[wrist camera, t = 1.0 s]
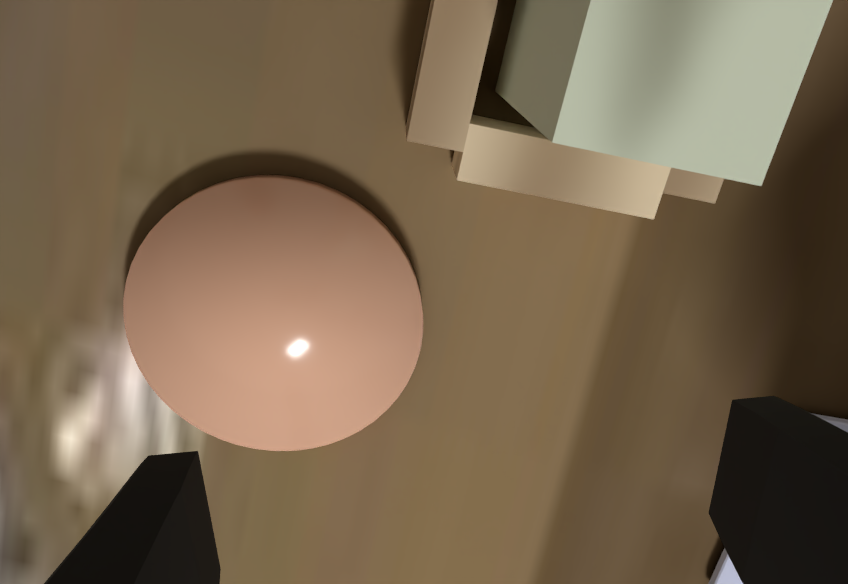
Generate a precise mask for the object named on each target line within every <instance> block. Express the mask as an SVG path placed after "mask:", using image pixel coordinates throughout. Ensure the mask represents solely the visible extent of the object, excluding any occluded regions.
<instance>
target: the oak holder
mask: <svg viewBox="0 0 848 584" xmlns="http://www.w3.org/2000/svg"><path fill="white" fill-rule="evenodd" d="M497 2H498V0H431V3H430V8H429V13H428V18H427V23H426V28H425V33H424V38H423V43H422V48H421V53H420V58H419V63H418V68H417V74H416V79H415V84H414V89H413V94H412V99H411V104H410V109H409V114H408V119H407V124H406V139H407V141H410V142H415V143H420V144H425V145H430V146H435V147H440V148H445V149H450V150H455V151H454V155H453V160H452V167H453V170H454V173H455V176H456V179H457V180H459V181H464V182H469V183H474V184H479V185H484V186H489V187H494V188H499V189H504V190H509V191H514V192H519V193H524V194H529V195H534V196H539V197H544V198H549V199H554V200H559V201H564V202H569V203H574V204H579V205H584V206H589V207H594V208H599V209H604V210H609V211H614V212H619V213H624V214H629V215H634V216H639V217H644V218H649V219H654V217H655V214H656V211H657V208H658V205H659V202H660V199H661V196H662V193H665V194H670V195H675V196H680V197H685V198H690V199H695V200H700V201H705V202H710V203H714V204H715V202H716V199H717V197H718V194H719V191H720V188H721V186H722V183H723V180H724V178H720V177H715V176H710V175H705V174H700V173H696V172H691V171H686V170H681V169H676V168H672V167H667V166H662V165H657V164H652V163H648V162H643V161H638V160H633V159H628V158H624V157H619V156H614V155H609V154H604V153H600V152H595V151H590V150H585V149H580V148H576V147H571V146H566V145H561V144H556V143H552V142H551V141H550V140H549V139H548V138H546V137H545V136H544V135H543V134H542V133H541V132H540V131H539V130H538V129H536V128H534V127H530V126H525V125H520V124H515V123H510V122H506V121H501V120H496V119H491V118H487V117H482V116H477V115H472V112H473V107H474V103H475V99H476V94H477V90H478V86H479V81H480V77H481V72H482V68H483V64H484V59H485V55H486V51H487V46H488V42H489V37H490V33H491V29H492V24H493V20H494V16H495V11H496V7H497Z"/></svg>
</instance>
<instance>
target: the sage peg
mask: <svg viewBox="0 0 848 584" xmlns="http://www.w3.org/2000/svg"><path fill="white" fill-rule="evenodd" d="M832 2H833V0H517V1H516V5H515V9H514V13H513V17H512V22H511V26H510V30H509V34H508V39H507V43H506V47H505V51H504V55H503V60H502V64H501V68H500V72H499V76H498V81H497V85H496V89H495V91H496V92H497V93H498V94H499V95H500V96H501V97H502V98H503V99H504V100H506V101H507V102H508V103H509V104H510V105H511V106H512V107H513V108H514V109H515V110H517V111H518V112H519V113H520V114H521V115H522V116H523V117H524V118H525V119H527V120H528V121H529V122H530V123H531V124H532V125H533V126H534V127H535V128H536V129H538V130H539V131H540V132H541V133H542V134H543V135H544V136H545V137H546V138H548V139H549V140H550V141H551V142H552V143H556V144H561V145H566V146H571V147H576V148H580V149H585V150H590V151H595V152H600V153H604V154H609V155H614V156H619V157H624V158H628V159H633V160H638V161H643V162H648V163H652V164H657V165H662V166H667V167H672V168H676V169H681V170H686V171H691V172H696V173H700V174H705V175H710V176H715V177H720V178H724V179H729V180H734V181H739V182H744V183H748V184H753V185H758V186H762V183H763V180H764V178H765V175H766V173H767V170H768V168H769V165H770V162H771V160H772V157H773V155H774V152H775V149H776V147H777V144H778V142H779V139H780V136H781V134H782V131H783V129H784V126H785V123H786V121H787V118H788V116H789V113H790V110H791V108H792V105H793V103H794V100H795V97H796V95H797V92H798V90H799V87H800V85H801V82H802V79H803V77H804V74H805V72H806V69H807V66H808V64H809V61H810V59H811V56H812V53H813V51H814V48H815V46H816V43H817V40H818V38H819V35H820V33H821V30H822V27H823V25H824V22H825V20H826V17H827V15H828V12H829V9H830V7H831V4H832Z"/></svg>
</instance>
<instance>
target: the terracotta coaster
mask: <svg viewBox="0 0 848 584" xmlns="http://www.w3.org/2000/svg"><path fill="white" fill-rule="evenodd" d="M124 322H125V329H126V335H127V338H128V342H129V345H130V348H131V352H132V354H133V356H134V358H135V361H136V363H137V365H138V367H139V369H140V371H141V372H142V374H143V376H144V377H145V379H146V380H147V382H148V384H149V385H150V386H151V387H152V389H153V390H154V391H155V392H156V394H157V395H158V396H159V397H160V398H161V399H162V400H163V401H164V402H165V403H166V404H167V405H168V406H169V407H170V408H171V409H172V410H173V411H174V412H175V413H177V414H178V415H179V416H181V417H182V418H183V419H185V420H186V421H187V422H189V423H190V424H192V425H194V426H195V427H197V428H199V429H200V430H202V431H204V432H206V433H208V434H210V435H212V436H214V437H217V438H219V439H221V440H224V441H227V442H230V443H233V444H236V445H239V446H244V447H249V448H254V449H260V450H271V451H295V450H303V449H311V448H316V447H320V446H324V445H328V444H331V443H334V442H336V441H339V440H342V439H344V438H347V437H349V436H350V435H352V434H354V433H356V432H358V431H360V430H362V429H363V428H365V427H366V426H368V425H369V424H371V423H372V422H374V421H375V420H376V419H377V418H378V417H380V416H381V415H382V414H383V413H384V412H385V411H386V410H387V409H388V408H389V407H390V406H391V405H392V404H393V403H394V401H395V400H396V399H397V398H398V397H399V395H400V394H401V392H402V391H403V389H404V388H405V386H406V385H407V383H408V381H409V379H410V377H411V375H412V373H413V371H414V368H415V366H416V363H417V360H418V356H419V353H420V349H421V343H422V336H423V309H422V301H421V294H420V289H419V285H418V281H417V278H416V274H415V272H414V269H413V267H412V265H411V263H410V260H409V258H408V256H407V254H406V253H405V251H404V249H403V248H402V246H401V245H400V243H399V241H398V240H397V239H396V237H395V236H394V235H393V234H392V232H391V231H390V230H389V229H388V228H387V226H386V225H385V224H384V223H383V222H382V221H381V220H380V219H378V218H377V217H376V216H375V215H374V214H373V213H372V212H371V211H370V210H368V209H367V208H365V207H364V206H363V205H361V204H360V203H359V202H357V201H356V200H354V199H352V198H351V197H349V196H347V195H345V194H343V193H342V192H340V191H338V190H335V189H333V188H330V187H328V186H325V185H323V184H320V183H317V182H314V181H310V180H306V179H302V178H298V177H290V176H282V175H253V176H246V177H238V178H234V179H230V180H226V181H223V182H219V183H216V184H214V185H211V186H209V187H207V188H204V189H202V190H200V191H198V192H196V193H195V194H193V195H191V196H190V197H188V198H186V199H185V200H183V201H182V202H180V203H179V204H178V205H177V206H176V207H174V208H173V209H172V210H171V211H169V212H168V213H167V214H166V215H165V216H164V217H163V218H162V219H161V220H160V221H159V222H158V223H157V224H156V225H155V226H154V227H153V229H152V230H151V231H150V232H149V233H148V235H147V236H146V238H145V239H144V241H143V242H142V244H141V245H140V247H139V248H138V251H137V253H136V255H135V257H134V259H133V261H132V263H131V266H130V270H129V273H128V276H127V280H126V285H125V292H124Z"/></svg>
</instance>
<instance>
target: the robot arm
mask: <svg viewBox="0 0 848 584" xmlns="http://www.w3.org/2000/svg"><path fill="white" fill-rule="evenodd" d="M709 515H710V517H711V519H712V521H713V524H714V526H715V528H716V530H717V532H718V534H719V537H720V539H721V541H722V543H723V545H724V547H725V548H724V550H723V552H722V554H721V557H720V559H719V561H718V563H717V565H716V568H715V570H714V572H713V574H712V577H711V579H710V581H709V584H848V420H847V419H841V418H836V417H830V416H824V415H818V414H813V413H809V412H807V411H805V410H803V409H801V408H799V407H797V406H795V405H793V404H791V403H789V402H786V401H784V400H782V399H780V398H777V397H775V396H768V397H757V398H747V399H737V400H732V404H731V409H730V413H729V418H728V423H727V428H726V432H725V437H724V442H723V447H722V452H721V456H720V461H719V466H718V471H717V476H716V480H715V485H714V490H713V495H712V500H711V504H710V509H709ZM219 582H220V564H219V559H218V554H217V548H216V543H215V538H214V533H213V528H212V522H211V517H210V512H209V507H208V501H207V496H206V491H205V486H204V481H203V475H202V470H201V465H200V460H199V455H198V451H193V452H183V453H172V454H162V455H151V456H148V457H147V458H146V459H145V460H144V461H143V462H142V463H141V464H140V466H139V467H138V468H137V469H136V471H135V472H134V473H133V474H132V476H131V477H130V478H129V479H128V481H127V482H126V483H125V485H124V486H123V487H122V488H121V490H120V491H119V492H118V494H117V495H116V496H115V497H114V499H113V500H112V501H111V503H110V504H109V505H108V506H107V508H106V509H105V510H104V511H103V513H102V514H101V515H100V516H99V518H98V519H97V520H96V521H95V523H94V524H93V525H92V526H91V528H90V529H89V530H88V531H87V533H86V534H85V535H84V536H83V538H82V539H81V540H80V541H79V543H78V544H77V545H76V546H75V547H74V549H73V550H72V551H71V552H70V553H69V555H68V556H67V557H66V558H65V559H64V560H63V562H62V563H61V564H60V565H59V566H58V568H57V569H56V570H55V571H54V572H53V574H52V575H51V576H50V577H49V578H48V580H47V581H46V582H45V583H44V584H219Z"/></svg>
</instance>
